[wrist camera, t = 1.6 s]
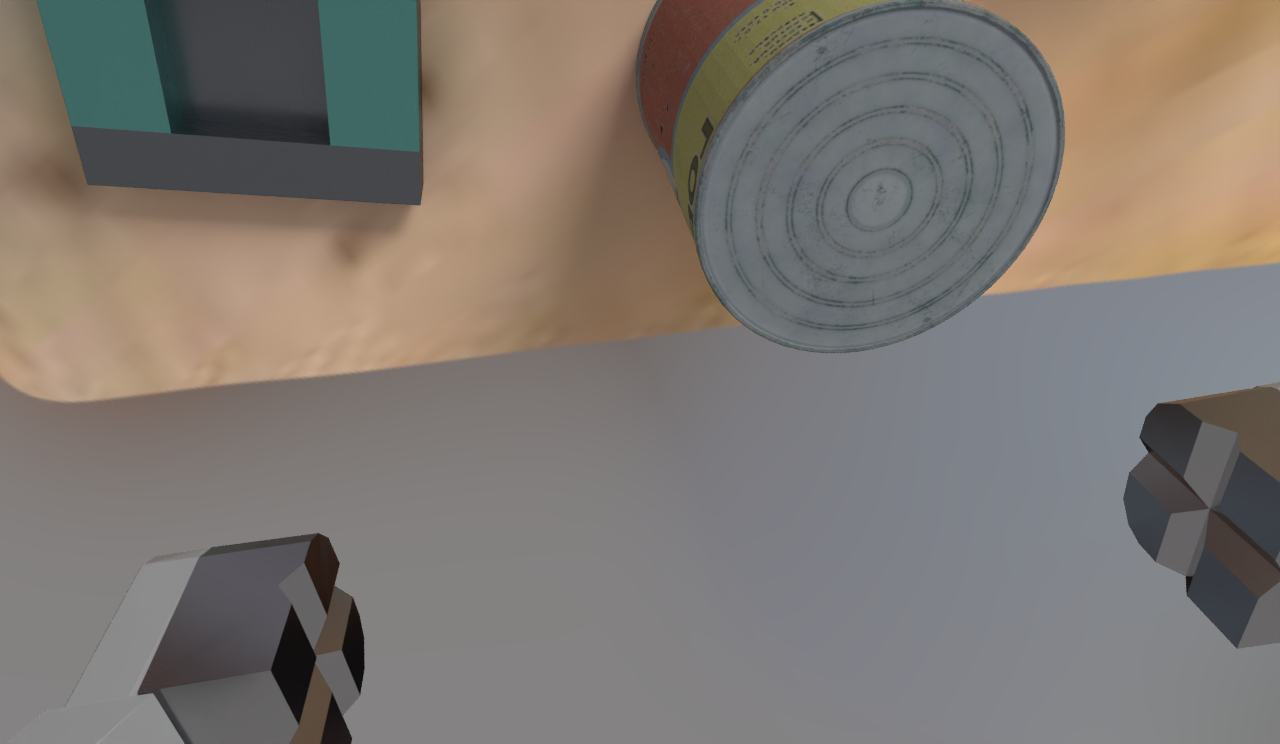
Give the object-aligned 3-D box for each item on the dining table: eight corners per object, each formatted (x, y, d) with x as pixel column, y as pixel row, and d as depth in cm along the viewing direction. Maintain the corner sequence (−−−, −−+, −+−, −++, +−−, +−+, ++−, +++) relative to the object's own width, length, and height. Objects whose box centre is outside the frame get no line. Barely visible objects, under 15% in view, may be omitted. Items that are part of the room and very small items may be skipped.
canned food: (578, 70, 33) (615, 206, 23) (805, -158, 29) (956, -105, 20) (746, 243, 39) (828, 406, 29) (951, 72, 35) (1121, 197, 26)
